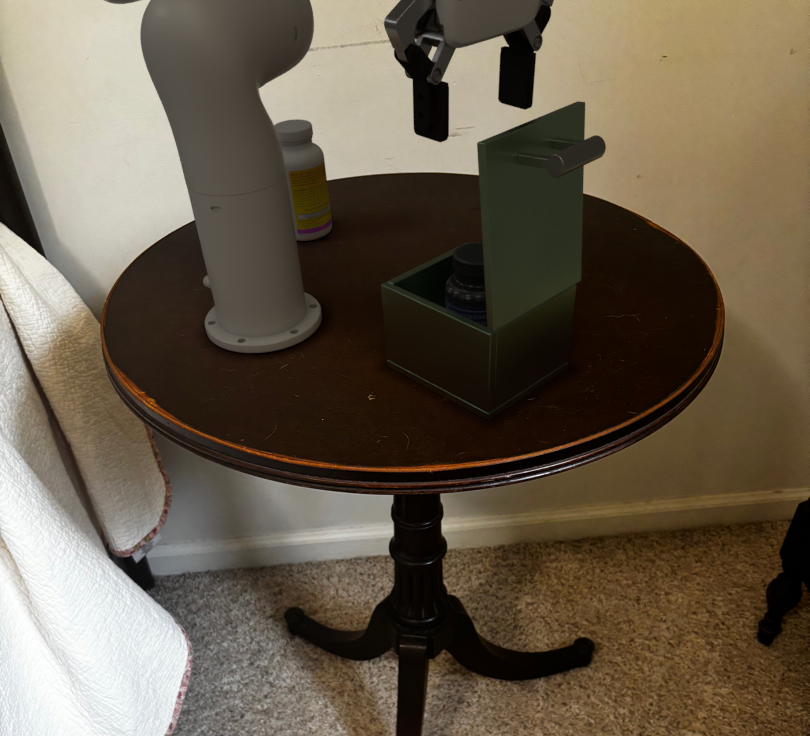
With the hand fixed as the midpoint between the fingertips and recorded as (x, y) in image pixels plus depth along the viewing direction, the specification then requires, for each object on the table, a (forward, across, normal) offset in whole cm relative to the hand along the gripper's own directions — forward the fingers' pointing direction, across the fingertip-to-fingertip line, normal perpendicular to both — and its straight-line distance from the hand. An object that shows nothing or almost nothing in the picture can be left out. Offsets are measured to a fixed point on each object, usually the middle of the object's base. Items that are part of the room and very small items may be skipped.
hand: (474, 120), depth 63 cm
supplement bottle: (+23, -9, -37) cm, 45 cm away
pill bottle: (+22, 0, +1) cm, 22 cm away
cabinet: (+22, 0, +1) cm, 23 cm away
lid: (+6, 0, +6) cm, 9 cm away
